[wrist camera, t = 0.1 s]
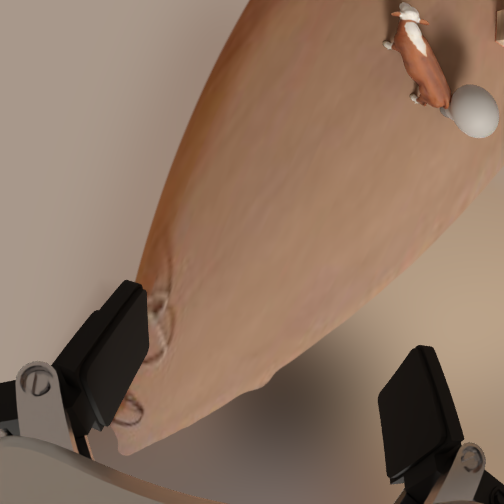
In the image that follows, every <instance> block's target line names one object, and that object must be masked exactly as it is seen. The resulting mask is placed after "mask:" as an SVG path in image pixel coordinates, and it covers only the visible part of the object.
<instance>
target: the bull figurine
mask: <svg viewBox="0 0 504 504" xmlns="http://www.w3.org/2000/svg"><path fill="white" fill-rule="evenodd" d="M399 8H400V12H399V11H397V12H393V13H391V15H393V16H399V17H400V19H399V23H398V28H397V33H396V35H395V36H394V42H395V43H394V42H393V43H389V42H388V41H384V42H383V46H384V47H387V49H394V50H397V51H398V52H400V53H401V56H402V58H403V62H404V65H405V68H406V70H407V72H408V74H409V75H410V77H411V78H412V79H413V80H414V81H415V82H417V83H418V85H419V91H420V93H421V94H420V96H419V97H417V96H416V95H415V94H411V95H410V98H411V100H412V101H415V103H420V104H422V105H423V106H426V104H427V103H428V104H429V105H431V106H433V107H437V108H439V107H443V108H444V109H448V108H449V103H450V102H451V98H452V95H451V90H450V88H449V86H448V84H447V81H446V79H445V76H444V74H443V72H442V70H441V67H440V65H439V63H438V61H437V59H436V57H435V55H434V53H433V51H432V49H431V47H430V45H429V43H428V41H427V40H426V38H425V37H424V36H423V35H422V33H421V30H420V29H419V27H418V25H417V23H420V24H424V25H429V22H428V21H426V20H424V19H421V18H419V13H418V11H417V10H416V9H415V8H414V7H411V6H410V5H409V4H408V3H405V2H402V3H401V4H400V6H399Z"/></svg>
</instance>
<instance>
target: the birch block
mask: <svg viewBox="0 0 504 504" xmlns="http://www.w3.org/2000/svg"><path fill="white" fill-rule="evenodd" d="M495 42H497V43H498V44H500V45H501V46H503V47H504V9H503V10H500V11H497V12H496V35H495Z"/></svg>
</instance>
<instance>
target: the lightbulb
mask: <svg viewBox="0 0 504 504" xmlns="http://www.w3.org/2000/svg"><path fill="white" fill-rule="evenodd" d="M440 111H441V113H442V114H443V115H444V116H445V117H448V118H450V119H452V120H454V122H455V123H456V125H457V126H458V128H459V129H460V130H461V131H463V132H464V133H465V134H467V135H469V136H471V137H474V138H484V137H487V136H489V135H491V134H492V133H493V132H494V131H495V129H496V127H497V125H498V122H499V110H498V107H497V104H496V102H495V100H494V98H493V97H492V96H491V94H490V93H489V92H488V91H486V90H485V89H483V88H482V87H480V86H477V85H464V86H461V87H460V88H458V89H457V90H456V91H455V92H454V94H453V96H452V98H451V102H450V103H449V108H448V109H444V108H443V107H440Z"/></svg>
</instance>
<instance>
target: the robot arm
mask: <svg viewBox="0 0 504 504" xmlns="http://www.w3.org/2000/svg"><path fill="white" fill-rule="evenodd" d="M148 349H149V334H148V316H147V292H146V290H144V289H143V288H142V285H141V284H139V283H135V282H132V281H129V280H125V281H124V282H122V284H121V285H120V286H119V287H118V288H117V289H116V291H115V292H114V293H113V294H112V295H111V297H110V298H109V299H108V300H107V301H106V303H105V304H104V305H103V306H102V307H101V309H100V310H96V311H94V312H93V313H92V314H91V315H90V317H89V318H88V319H87V320H86V321H85V323H84V324H83V325H82V327H81V328H80V329H79V330H78V331H77V333H76V334H75V335H74V337H73V338H72V339H71V340H70V342H69V343H68V344H67V345H66V347H65V348H64V349H63V351H62V352H61V354H60V355H59V356H58V357H57V359H56V360H55V361H54V363H53V364H52V365H51V366H50V365H49V364H48V363H45V362H40V361H36V362H32V363H28V364H26V365H25V366H23V367H22V368H21V369H20V371H19V372H18V374H17V376H16V380H13V381H8V382H3V383H0V504H227V503H221V502H217V501H212V500H208V499H204V498H199V497H195V496H191V495H187V494H184V493H181V492H177V491H174V490H170V489H167V488H164V487H161V486H158V485H155V484H152V483H149V482H146V481H143V480H140V479H138V478H135V477H132V476H130V475H127V474H124V473H122V472H119V471H117V470H114V469H112V468H110V467H107V466H105V465H103V464H100V463H98V462H96V461H94V457H93V454H92V451H91V448H90V445H89V442H88V439H87V435H88V433H89V431H90V430H91V428H94V429H96V430H99V431H102V429H103V427H104V426H109V425H110V423H111V422H112V420H113V418H114V416H115V414H116V412H117V410H118V408H119V406H120V404H121V402H122V400H123V398H124V396H125V394H126V392H127V390H128V388H129V387H130V385H131V383H132V381H133V379H134V377H135V375H136V373H137V371H138V370H139V368H140V366H141V364H142V362H143V360H144V358H145V356H146V355H147V352H148ZM378 405H379V412H380V419H381V426H382V435H383V442H384V451H385V461H386V472H387V476H388V477H389V478H390V484H400V483H404V484H405V488H404V489H403V491H402V492H401V494H400V495H399V497H398V498H397V500H396V501H395V503H394V504H504V485H503V484H502V483H501V482H499V481H498V480H497V479H496V478H495V477H493V476H492V475H491V474H490V473H488V472H487V471H486V470H485V464H486V459H485V455H484V452H483V451H482V449H481V448H480V447H479V446H478V445H477V444H475V443H470V442H468V443H465V444H463V445H461V441H463V440H464V436H463V432H462V429H461V426H460V422H459V418H458V415H457V412H456V409H455V406H454V402H453V399H452V396H451V393H450V390H449V388H448V385H447V382H446V379H445V376H444V373H443V371H442V368H441V365H440V363H439V360H438V358H437V355H436V353H435V350H434V348H433V347H430V346H423V345H418V346H416V348H414V349H412V350H411V351H410V353H409V354H408V356H407V357H406V358H405V360H404V361H403V363H402V364H401V365H400V367H399V368H398V370H397V371H396V372H395V374H394V375H393V376H392V378H391V379H390V380H389V382H388V383H387V384H386V385H385V387H384V388H383V389H382V391H381V392H380V394H379V396H378Z"/></svg>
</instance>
